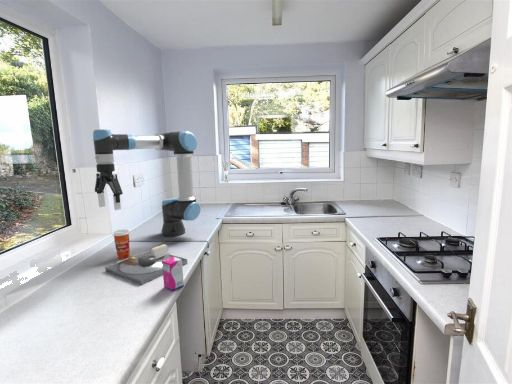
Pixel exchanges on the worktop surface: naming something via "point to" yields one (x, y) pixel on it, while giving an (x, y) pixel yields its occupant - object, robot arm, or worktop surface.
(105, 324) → the worktop surface
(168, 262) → the supplement box
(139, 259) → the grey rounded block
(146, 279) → the panel
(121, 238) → the paper cup
